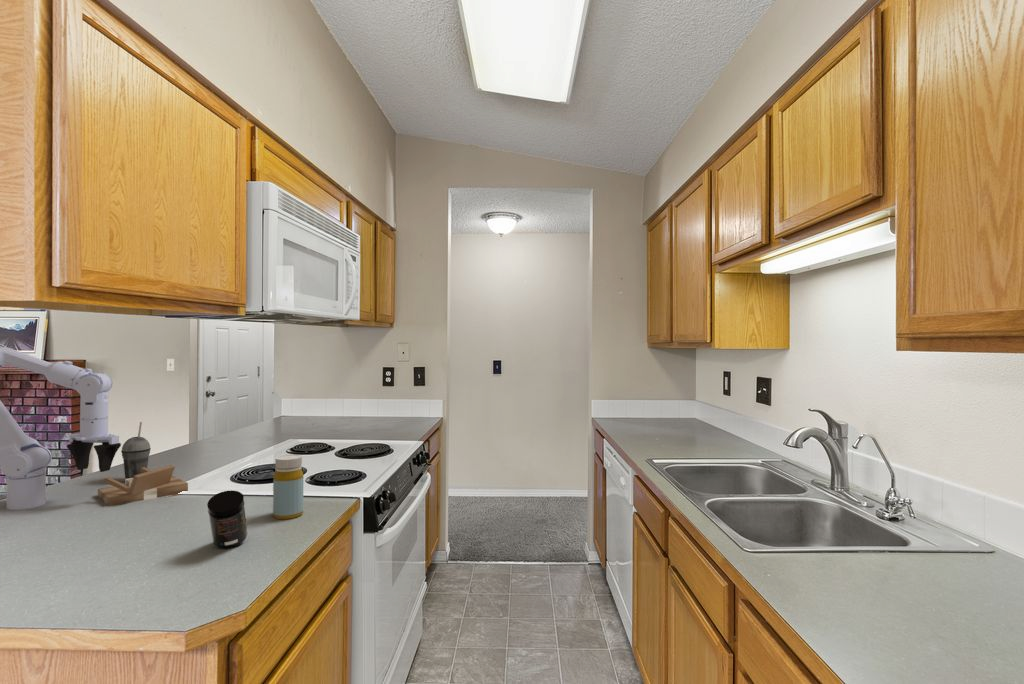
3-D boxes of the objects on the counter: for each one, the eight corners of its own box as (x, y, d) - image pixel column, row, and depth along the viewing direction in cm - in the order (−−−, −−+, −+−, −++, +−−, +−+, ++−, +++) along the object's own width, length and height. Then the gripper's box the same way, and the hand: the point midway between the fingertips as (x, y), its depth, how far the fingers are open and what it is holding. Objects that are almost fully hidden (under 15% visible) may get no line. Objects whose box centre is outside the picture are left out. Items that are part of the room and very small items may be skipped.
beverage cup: (116, 488, 153) (117, 422, 153) (144, 483, 159) (145, 419, 159) (126, 492, 149) (126, 424, 149) (154, 487, 155) (155, 421, 155)
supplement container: (243, 523, 115) (239, 486, 111) (251, 542, 110) (247, 504, 106) (210, 535, 111) (204, 497, 107) (216, 555, 106) (210, 516, 102)
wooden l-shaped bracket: (103, 481, 134) (109, 463, 134) (143, 470, 146) (148, 454, 146) (131, 494, 133) (137, 477, 133) (169, 482, 145) (174, 466, 145)
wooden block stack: (97, 503, 139) (97, 483, 139) (173, 489, 153) (173, 470, 153) (110, 514, 130) (110, 492, 130) (189, 498, 143) (189, 478, 144)
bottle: (293, 509, 134) (293, 453, 134) (308, 515, 130) (309, 456, 130) (267, 517, 128) (268, 457, 128) (282, 522, 124) (283, 461, 124)
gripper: (56, 419, 131) (56, 471, 131) (99, 421, 128) (99, 475, 128) (85, 416, 138) (84, 465, 138) (127, 417, 135) (126, 468, 135)
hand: (93, 470), depth 133 cm, fingers open, 7 cm apart
